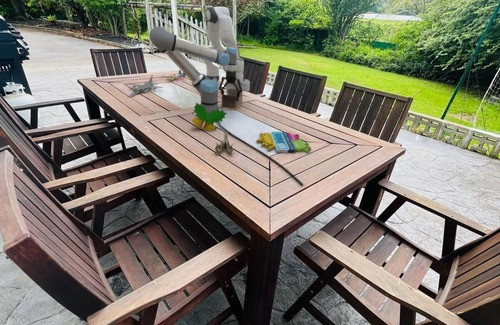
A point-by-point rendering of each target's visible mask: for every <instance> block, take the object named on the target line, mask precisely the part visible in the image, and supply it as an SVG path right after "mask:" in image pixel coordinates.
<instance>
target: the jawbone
mask: <svg viewBox="0 0 500 325" xmlns="http://www.w3.org/2000/svg"><path fill="white" fill-rule="evenodd" d="M223 135H224V136H223V140H222V139H221V142H220V144H218V142H215V144H216V146H215V148H214V149H215V152H214V154H215V155H217V156H218V155H220V153H221V152H223V151H224V150H226V152H227V153H228V155H229V156H233V155H234V154H233V153H234V148H233V144H234V143H230V140H228V139H229V138H228V137H229V136H228V135H229V133H228V132H227V131H225V132H224V134H223Z"/></svg>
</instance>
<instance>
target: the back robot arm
mask: <svg viewBox="0 0 500 325" xmlns="http://www.w3.org/2000/svg"><path fill="white" fill-rule="evenodd" d="M205 17H206V20H207V24H206V38H207V40H208V41H209V42H210V43H212V44H213V45H203V46H204V47H207V48H210V49H213V50H217V51H226V48H227V47H232V48H236V50H237V60H236V79H239V78H240V83H241V87H242V90H243V91H242V92H245V93H249V91H250V89H251V88H250V86H251V81H250V80H249V79H244V70H245V63H244V59H243V58H242V57H241V54H240V49H239V44H238V41H237V39H236V37H235V32H234V23H233V18H234V12H233V10H232V8H230V7H228V6H226V7H225V6H210V7H208V8H207V9H206V11H205ZM223 44H224V45H226V46H227V47H225V46H224V45H223ZM201 60H202V61H203V62H204V64H205V67H206V74H205V76H206V77H207V78H208V79H210V80H214V81H216V82H217V84H218V93H221V90H219V86H220V83H221V80H220V67H219V64H217V63H214V62H211V61H208V60H204V59H201ZM222 68H223V71H224V73H226V66H222ZM235 82H236V84H237V86H238V88H239V85H238V82H237V80H236V81H235ZM223 86H224V84H223V85H222V87H223ZM225 89H226V90H228V89H236V88H235V86H234V85H233V84H231V83H230V84H229V83H228V84H227V85H226V87H225ZM239 90H240V89H239Z"/></svg>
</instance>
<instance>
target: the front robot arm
mask: <svg viewBox="0 0 500 325" xmlns="http://www.w3.org/2000/svg"><path fill="white" fill-rule="evenodd" d="M149 40H150V42H151V43H152V45H153V46H154V47H156V49H158V50H159V52H161V54H164V55H166V56H167V57H168V58H169V59H170V60H171V61H172V62H173V63H174V64H175V65H176V66H177V68H179V70H181V72H182V74H183V73H184V74H185V75H186V76H185V77H187V78H188V79H189V80H190V81H191V86H193V87H194V89H195V90H196V91H197V92H198V93H199V94H200V104H201V106H204V109H206V112H208V113H211V112H212V110H214V111H216V110H217V109H219V111H221V110H220V108H219V102H218V99H219V98H218V97H219V92H218V84H217V82H216V81H214V80H210V79H208V78H207V77H206V74H205V73H203V72H200V70H198V68H197V67H196V66H195V65H194V64H193V63H192V61H191V60H190V59H189V57H187V56H186V55H188V56H192V57H195V58H198V59H201V60H202V59H204V60H208V61H211V62H213V63H215V64H217V65H219V66H222V67H223V66H226V72H225V76H221V80H220V81H221V83H220V86H219V90H221V91H220V95H221V96H222V94H223V93H224V92H225V90H224V89H226V85H227V84H228V83H229V84H230V83H231V84H233V85H234V86H235V88H236V90H237V91H238V92H237V101H239V97H240V92H242V93H243V92H244V91H243V90H242V87H241V83H240V78H239V79H236V60H237V50H236V48H232V47H229V46H227V47H225V48H226V51H217V50H213V49H210V48H207V47H204V46H205V45H201V44H199V43H195V42H192V41H190V40H189V41H188V40H186V39H184V38H180V37H179V36H178V35H177V34H174V33H171V32H170V31H168V30H166V28H164V27H162V26H155V27H153V28H151V30H150V32H149ZM236 80H237V82H238V85H239V88H238V86H237V84H236V82H235V81H236ZM222 85H223V86H222ZM239 89H240V90H239ZM208 113H207V115H208ZM217 125H219V127H220V128H221V129H223V130H224V131H225V132H228V135H231V136H232V137H233V138H235V139H237V140H238V141H240V142H242V143H243V144H245V145H247V146H248V147H250V148H251V149H254V150H255V151H257V152H258V153H260V154H262V155H263V156H264V157H266V158H268V159H269V160H270V161H272V162H274V163H275V164H276V165H277V166H279V167H280V168H281V169H283V170H284V171H285V172H286V173H287V174H289V175H290V176H291V177H292V178H293V179H294V180H295V181H297V183H298V184H300V186H304V184H303V182H302V181H301V180H299V178H297V177H296V176H295V175H294V174H293V173H292V172H291V171H289V170H288V168H286V167H284V166H283V165H282V164H281V163H279V162H278V161H277V160H275V159H274V158H272V157H271V156H270V155H268V154H267V153H264V152H263V151H261V149H258V148H257V147H255V146H253V145H251V144H249V143H248V142H246V141H245V140H243V139H241V138H240V137H238V136H236V135H235V134H233V133H232V132H231V131H229V130H228V129H226V128H225V127H224V126H223V125H221V121H219V122H218V123H217Z"/></svg>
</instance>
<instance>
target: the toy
mask: <svg viewBox="0 0 500 325" xmlns="http://www.w3.org/2000/svg"><path fill="white" fill-rule="evenodd" d="M181 77H182V78H181ZM184 77H187V76H186V75H185V74H184V73H183V72H182V70H181V69H179V70H178V73H172V74H170V75H168V76H167V75H166V76H165V75H161V78H162V79H164V78H166V80H168V81H170V82H173V81H174V80H179V81H180V80H182V81H184V82H185V80H186V78H184Z"/></svg>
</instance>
